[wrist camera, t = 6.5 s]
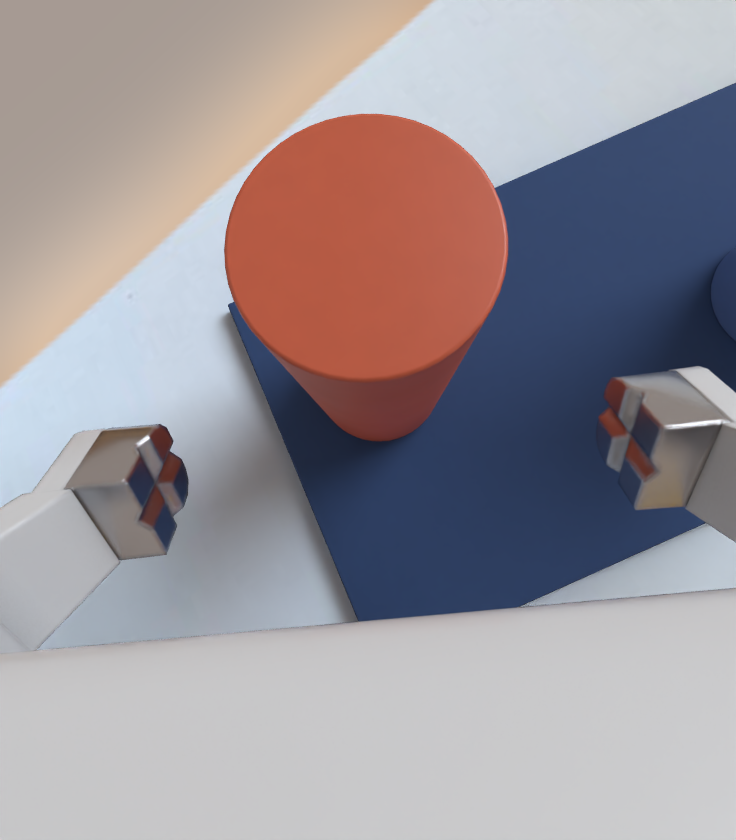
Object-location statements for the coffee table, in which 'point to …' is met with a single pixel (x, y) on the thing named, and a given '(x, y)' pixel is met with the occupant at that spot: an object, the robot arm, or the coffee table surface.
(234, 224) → the red peg
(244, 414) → the coffee table surface
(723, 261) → the blue peg
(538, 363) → the blue mat
